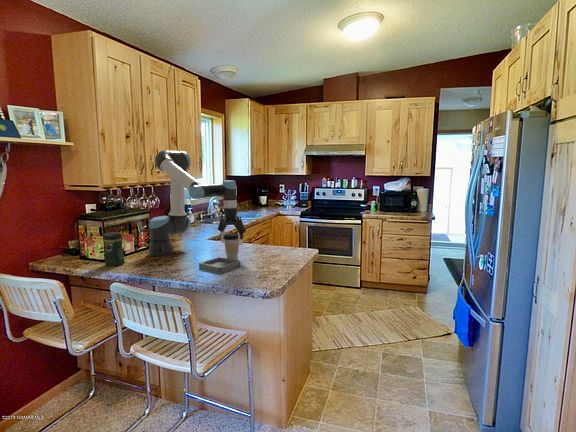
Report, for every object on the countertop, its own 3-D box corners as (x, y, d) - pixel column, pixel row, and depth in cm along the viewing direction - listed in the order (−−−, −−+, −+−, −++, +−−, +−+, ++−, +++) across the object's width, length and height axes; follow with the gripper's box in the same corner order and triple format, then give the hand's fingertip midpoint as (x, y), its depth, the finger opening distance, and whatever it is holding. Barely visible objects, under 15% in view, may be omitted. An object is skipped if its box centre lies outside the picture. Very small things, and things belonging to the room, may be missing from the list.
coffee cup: (237, 262, 197) (236, 236, 195) (221, 261, 199) (220, 236, 197) (242, 258, 206) (241, 233, 204) (227, 257, 208) (226, 232, 206)
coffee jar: (127, 263, 198) (124, 231, 195) (116, 267, 191) (113, 234, 188) (113, 261, 201) (110, 230, 198) (102, 265, 193) (99, 233, 191)
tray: (199, 268, 186) (198, 263, 186) (219, 261, 198) (219, 256, 198) (220, 273, 177) (219, 267, 177) (240, 266, 189) (239, 261, 189)
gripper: (210, 207, 202) (212, 242, 205) (242, 209, 188) (243, 247, 191) (219, 205, 208) (221, 240, 211) (251, 207, 194) (252, 244, 197)
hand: (232, 243), depth 201 cm, fingers open, 13 cm apart
